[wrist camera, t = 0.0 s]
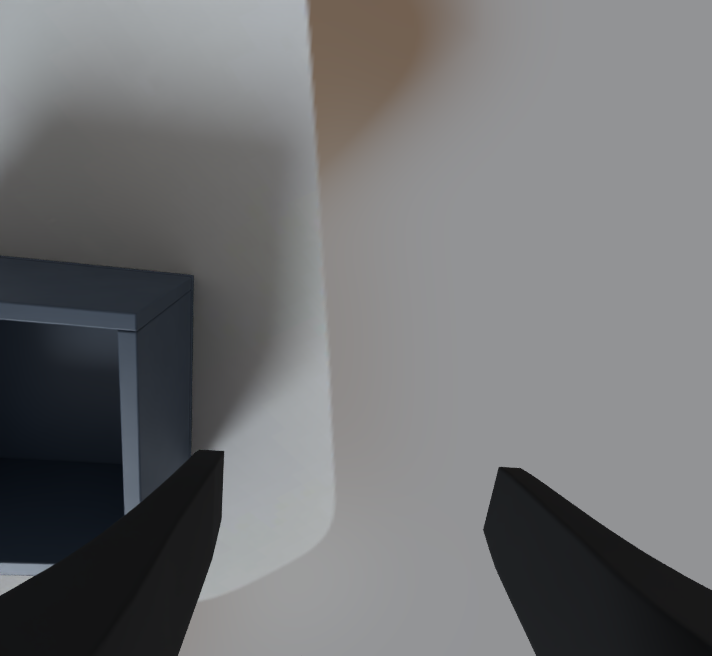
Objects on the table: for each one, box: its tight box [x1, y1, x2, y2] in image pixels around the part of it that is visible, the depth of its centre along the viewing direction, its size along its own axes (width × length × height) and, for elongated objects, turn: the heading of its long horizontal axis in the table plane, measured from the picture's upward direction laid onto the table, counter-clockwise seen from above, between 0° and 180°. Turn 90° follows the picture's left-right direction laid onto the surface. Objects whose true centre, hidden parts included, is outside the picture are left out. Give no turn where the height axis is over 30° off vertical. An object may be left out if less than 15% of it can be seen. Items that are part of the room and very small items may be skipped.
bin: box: [0, 256, 194, 576], centre depth 17 cm, size 10×10×6 cm
